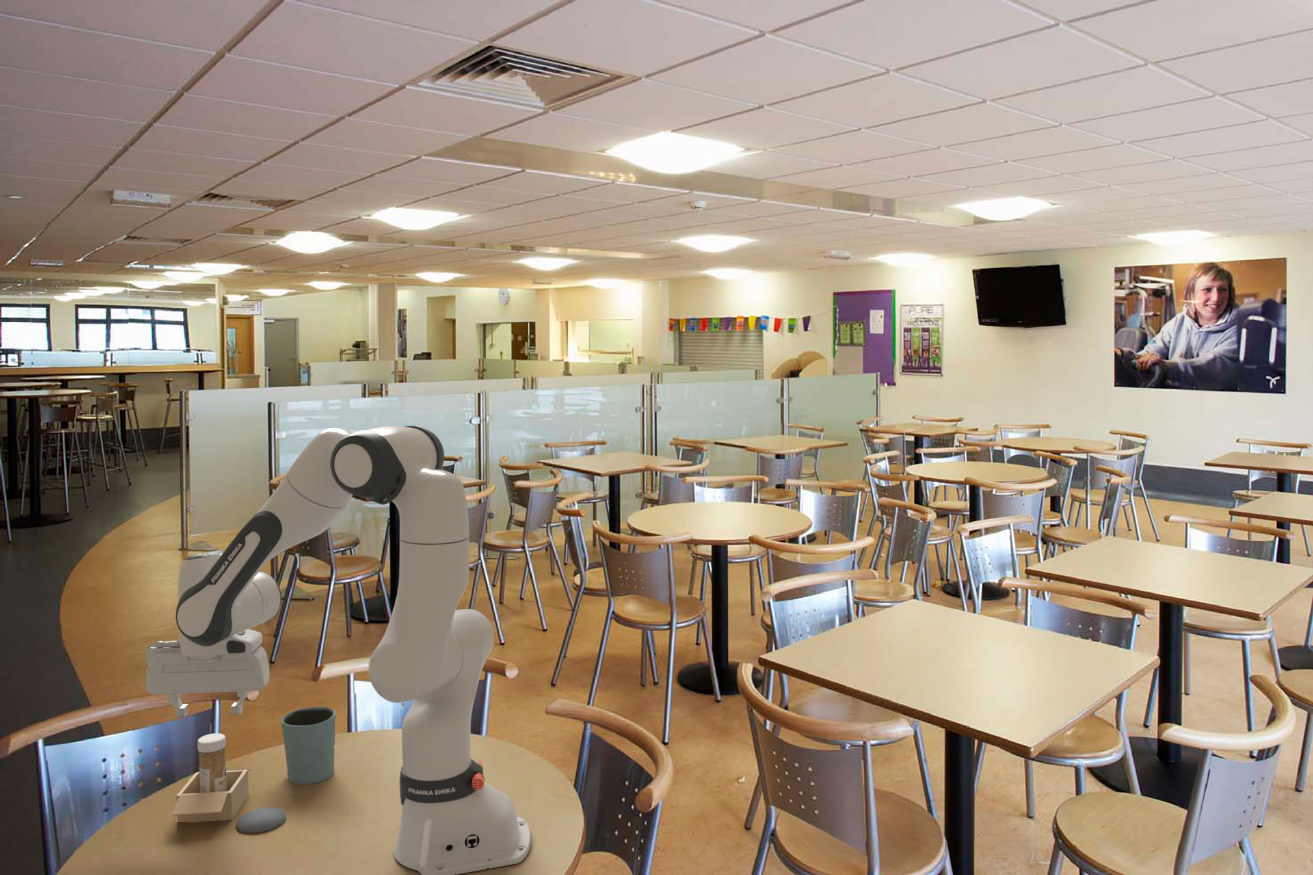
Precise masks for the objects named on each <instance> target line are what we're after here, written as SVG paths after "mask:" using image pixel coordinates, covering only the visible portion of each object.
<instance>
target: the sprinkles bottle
mask: <svg viewBox="0 0 1313 875" xmlns="http://www.w3.org/2000/svg"><path fill="white" fill-rule="evenodd" d="M226 746H227V745H226V735H225V734H224V733H223V734H222V733H217V732H216V733H210V734H205V735H203V736H201V737H200V738H198V740H197V751H198V757H199V758H198V759H199V760H198V761H199V765H198V766H199V767H198V769H199V770H198V772H199V775H200V793H208V792H225V791H227V790H226V789H227V782H226V770H227V768H226V767H227V765H226V751H225V749H226V748H225V747H226Z"/></svg>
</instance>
